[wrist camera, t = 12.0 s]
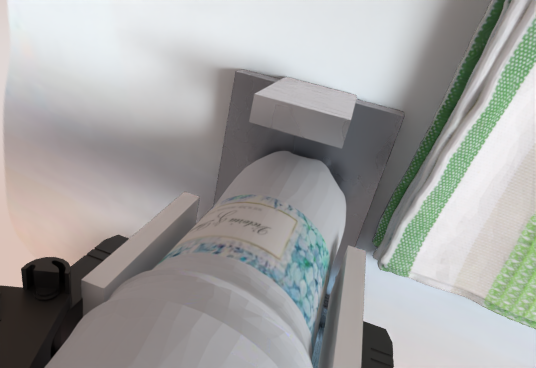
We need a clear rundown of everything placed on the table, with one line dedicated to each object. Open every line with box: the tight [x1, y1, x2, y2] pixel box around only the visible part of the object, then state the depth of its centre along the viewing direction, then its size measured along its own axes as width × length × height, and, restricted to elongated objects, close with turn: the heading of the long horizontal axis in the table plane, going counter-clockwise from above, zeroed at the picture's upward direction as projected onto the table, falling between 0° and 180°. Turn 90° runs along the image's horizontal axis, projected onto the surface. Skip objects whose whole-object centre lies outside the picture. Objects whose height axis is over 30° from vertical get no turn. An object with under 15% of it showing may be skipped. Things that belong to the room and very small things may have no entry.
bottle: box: [45, 151, 346, 368], centre depth 13 cm, size 7×7×20 cm
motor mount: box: [213, 69, 404, 368], centre depth 21 cm, size 21×13×8 cm, turn 168°
